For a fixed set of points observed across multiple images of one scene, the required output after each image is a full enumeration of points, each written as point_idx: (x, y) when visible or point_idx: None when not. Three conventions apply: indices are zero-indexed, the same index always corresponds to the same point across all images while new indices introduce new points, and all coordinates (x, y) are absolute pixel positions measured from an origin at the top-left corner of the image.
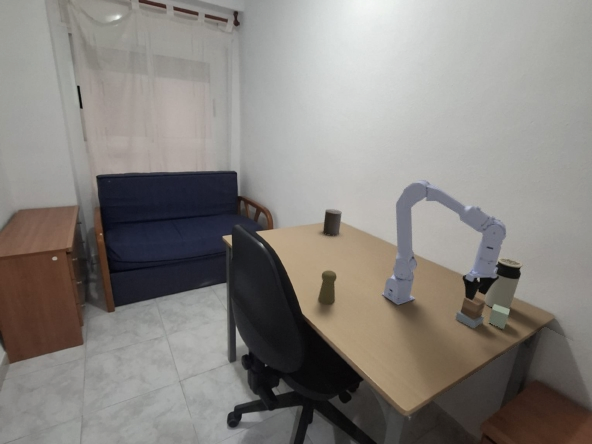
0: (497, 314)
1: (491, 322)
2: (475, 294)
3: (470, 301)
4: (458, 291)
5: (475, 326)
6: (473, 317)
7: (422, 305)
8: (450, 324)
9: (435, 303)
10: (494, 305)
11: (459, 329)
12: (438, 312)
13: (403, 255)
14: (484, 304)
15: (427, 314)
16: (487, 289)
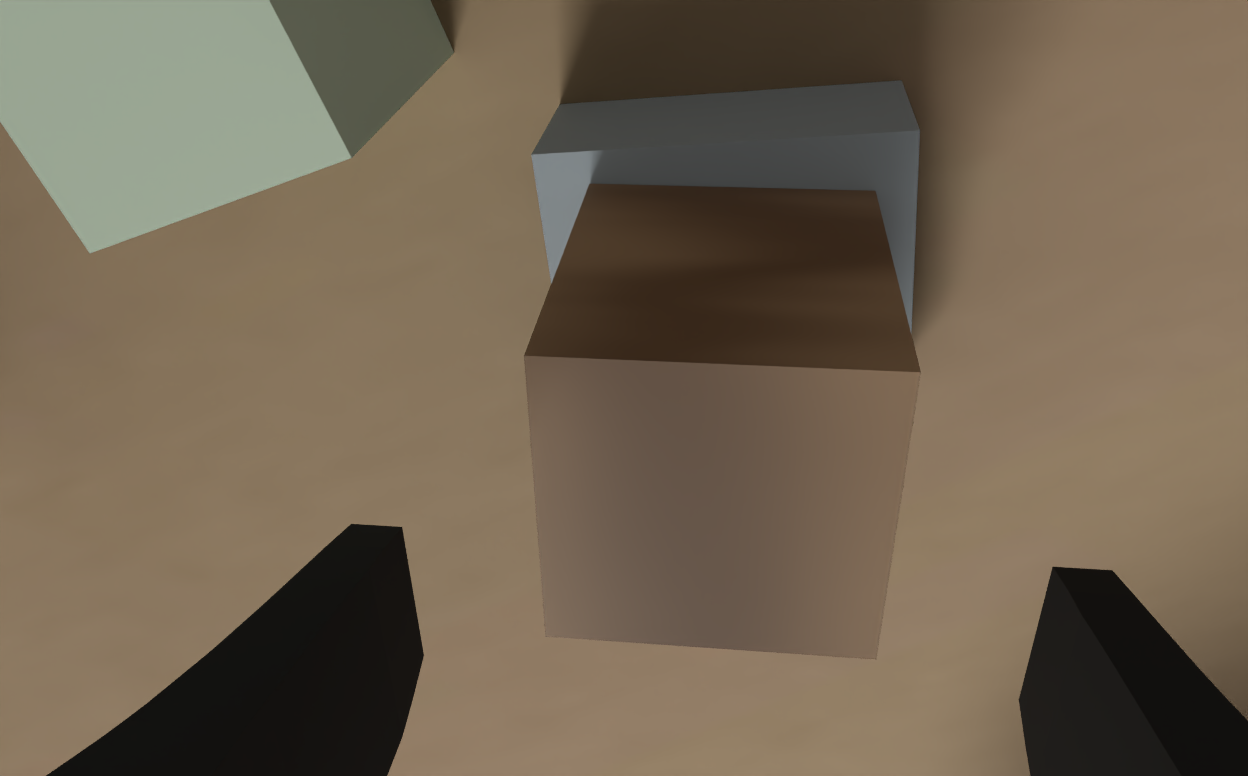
0: (317, 10)
1: (420, 14)
2: (1146, 700)
3: (890, 534)
4: (132, 682)
5: (843, 94)
6: (880, 222)
7: (990, 739)
8: (1140, 337)
9: (758, 688)
10: (143, 214)
11: (1162, 191)
12: (958, 572)
13: None
14: (560, 318)
15: (1171, 617)
16: (317, 648)
